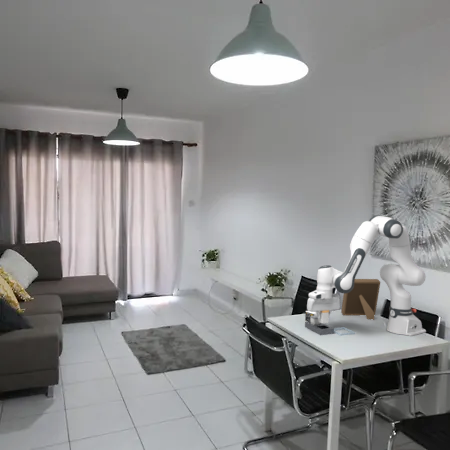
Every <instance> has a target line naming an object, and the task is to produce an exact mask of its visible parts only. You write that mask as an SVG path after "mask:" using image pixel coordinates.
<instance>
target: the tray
mask: <svg viewBox="0 0 450 450" xmlns="http://www.w3.org/2000/svg"><path fill="white" fill-rule="evenodd" d="M333 328H334V334H336V335H338V336H340V337H341V336H350V335H356V332H355V331H353V330H351V329H349V328H347V327H345V326H343V327H341V326H340V327H333ZM340 330H345V331H347V332H342V333H341V332H339V331H340Z"/></svg>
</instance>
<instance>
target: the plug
mask: <svg viewBox="0 0 450 450" xmlns="http://www.w3.org/2000/svg"><path fill="white" fill-rule="evenodd" d="M319 314H320V315H321V319H318V322H320V323H324V324H328V323H329V319H330V316H329V310H327V311H320V313H319Z"/></svg>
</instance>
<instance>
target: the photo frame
mask: <svg viewBox="0 0 450 450" xmlns="http://www.w3.org/2000/svg"><path fill="white" fill-rule="evenodd" d="M380 287H381V281H380V280H379V279H378V278H355V281H354V288H353V289H352V291H350V292H349V293H345V294H344V293H343V296H342V303H341V308H340V309H341V312H340V313H341V314H342V315H343V316H360V315H366V316H365V317H366V319H367V320H371V319H373V321H375V316H376V313H377V307H378V306H377V305H378V300H379V292H380ZM374 315H375V316H374Z"/></svg>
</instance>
